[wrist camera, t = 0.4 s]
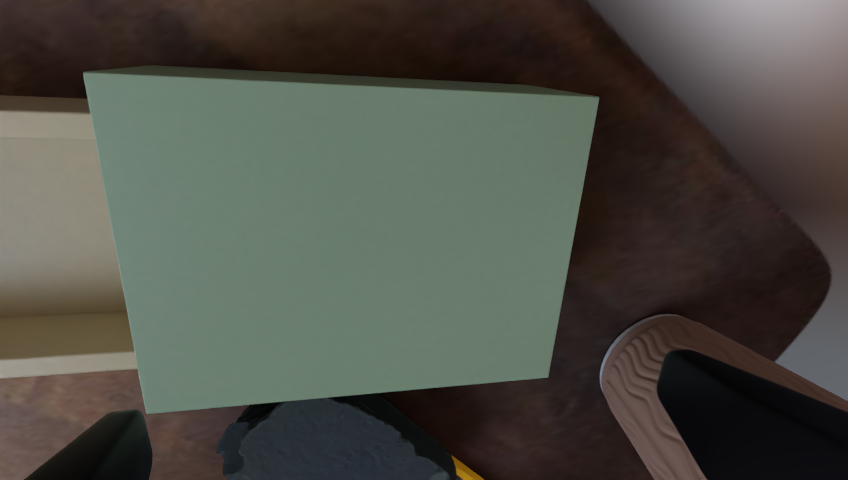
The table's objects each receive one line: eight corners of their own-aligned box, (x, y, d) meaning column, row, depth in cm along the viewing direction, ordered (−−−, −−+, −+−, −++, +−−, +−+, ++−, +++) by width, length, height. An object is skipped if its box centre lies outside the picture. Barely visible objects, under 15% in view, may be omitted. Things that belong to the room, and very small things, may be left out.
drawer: (-137, 342, 19) (-252, 416, 15) (-254, 65, 15) (-446, 70, 11) (278, 319, 22) (271, 375, 18) (265, 88, 18) (252, 98, 15)
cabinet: (186, 326, 22) (145, 414, 17) (150, 64, 18) (81, 71, 13) (499, 308, 25) (548, 378, 20) (528, 84, 21) (600, 96, 16)
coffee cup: (694, 423, 32) (889, 614, 21) (556, 434, 30) (696, 656, 19) (746, 286, 29) (1012, 432, 18) (594, 286, 26) (793, 454, 15)
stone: (371, 525, 29) (376, 573, 27) (200, 441, 25) (185, 490, 22) (467, 440, 28) (481, 482, 25) (305, 334, 23) (302, 373, 21)
